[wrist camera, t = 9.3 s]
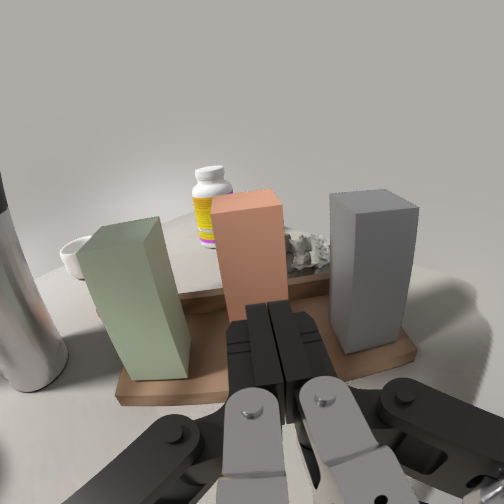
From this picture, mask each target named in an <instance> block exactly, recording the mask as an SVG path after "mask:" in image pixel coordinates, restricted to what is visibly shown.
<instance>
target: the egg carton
mask: <svg viewBox="0 0 504 504" xmlns="http://www.w3.org/2000/svg"><path fill="white" fill-rule="evenodd" d="M284 235H285V250H286V252H291V253H292V254H294V259H293V260H292V263H293V268H292V271H291V272H290V273H287V279H290V278H297V277H303V276H310V275H316V274H322V273H328V272H330V249H329V246H328V243H327V239H326V236H325V235H318V236H316V235H312V234H311V236H309V237H304V236H303V235H300V237H299V240H291V237H290V235H289V234H287V233H284ZM306 250H312V251H313V252H315V261H316V262H318V264H316V265H315V264H311V256H310V253H309V252H306V253H304V252H305V251H306Z"/></svg>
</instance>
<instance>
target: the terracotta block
mask: <svg viewBox="0 0 504 504" xmlns="http://www.w3.org/2000/svg"><path fill="white" fill-rule="evenodd" d="M210 215H211V221H212V227H213V233H214V239H215V245H216V251H217V256H218V262H219V268H220V273H221V279H222V284H223V289H224V295H225V300H226V305H227V311H228V316H229V321H230V323H231V322H232V321H238V320H246V319H247V317H246V309H245V305H249V304H257V303H264V302H266V306H267V302H271V301H278V300H286V299H288V283H287V266H286V250H285V235H284V221H283V209H282V204H281V202H280V201H279V199H278V198H277V196H276V195H275V193H274V192H273V191H272V189H264V190H256V191H248V192H240V193H232V194H225V195H218V196H213V198H212V205H211V213H210Z"/></svg>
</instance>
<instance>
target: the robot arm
mask: <svg viewBox="0 0 504 504" xmlns="http://www.w3.org/2000/svg"><path fill="white" fill-rule="evenodd" d="M245 309H246V317H247V319H246V320H238V321H232V322H231V323H230V325H229V327H228V329H227V331H226V344H227V365H228V384H229V395H228V398H227V400H226V402H225V404H224V405H223V406H222V407H221V408H220V409H219V410H218V411H216V412H214V413H213V414H210V415H208V416H205V417H202V418H199V419H196V420H192V419H190V418H189V417H187V416H184V415H179V414H171V415H166V416H163V417H161V418H159V419H158V420H156V421H155V422H154V423H153V424H152V425H151V426H150V427H149V428H148V429H146V430H145V431H144V432H143V433H142V434H141V435H140V436H139V437H138V438H137V439H136V440H135V441H134V442H132V443H131V444H130V445H129V446H128V447H127V448H126V449H125V450H124V451H123V452H121V453H120V454H119V455H118V456H117V457H116V458H115V459H114V460H113V461H111V462H110V463H109V464H108V465H107V466H106V467H105V468H103V469H102V470H101V471H100V472H99V473H98V474H97V475H95V476H94V477H93V478H92V479H91V480H90V481H88V482H87V483H86V484H85V485H84V486H82V487H81V488H80V489H79V490H78V491H76V492H75V493H74V494H73V495H72V496H70V497H69V498H68V499H67V500H66V501H64V502H63V503H62V504H196V503H197V502H198V501H199V500H200V499H201V498H202V497H203V496H204V494H205V493H206V492H207V491H208V490H209V489H210V488H211V487H212V485H213V484H214V483H215V482H216V481H217V480H218V483H217V493H216V504H289V499H288V488H287V479H286V473H285V465H284V455H283V444H282V425H285V418H286V423H287V424H291V423H294V424H295V428H296V432H297V446H298V449H299V452H300V455H301V458H302V461H303V464H304V467H305V470H306V473H307V476H308V479H309V482H310V485H311V489H312V492H313V499H314V504H428V503H424V502H421V501H418V500H417V498H416V496H415V494H414V492H413V490H412V488H411V486H410V484H409V482H408V480H407V478H406V476H405V474H406V475H408V476H410V477H412V478H414V479H416V480H418V481H421V482H423V483H425V484H427V485H430V486H432V487H434V488H437V489H439V490H441V491H444V492H446V493H449V494H451V495H454V496H456V497H459V498H461V499H463V502H462V504H504V418H502V417H500V416H497V415H494V414H492V413H490V412H487V411H485V410H482V409H480V408H478V407H475V406H473V405H470V404H468V403H466V402H463V401H461V400H458V399H456V398H454V397H452V396H449V395H447V394H445V393H442V392H440V391H438V390H436V389H433V388H431V387H429V386H427V385H424V384H422V383H420V382H418V381H416V380H413V379H410V378H396V379H393V380H391V381H389V382H388V383H387V384H386V385H385V386H384V387H383V389H382V390H366V389H356V388H353V387H350V386H348V385H347V384H346V383H345V382H343V381H342V380H340V379H339V378H338V376H337V374H336V372H335V369H334V367H333V364H332V362H331V359H330V357H329V354H328V352H327V350H326V347H325V345H324V342H323V341H322V337H321V335H320V332H319V330H318V328H317V325H316V323H315V320H314V319H313V318H312V317H311V316H310V315H308V314H307V313H306V312H305V311H303V312H296V313H293V312H292V309H291V306H290V303H289V301H288V299H286V300H278V301H271V302H267V306H266V302H264V303H257V304H249V305H245ZM67 358H68V350H67V347H66V345H65V343H64V342H63V340H62V338H61V336H60V334H59V332H58V330H57V329H56V327H55V325H54V323H53V320H52V318H51V316H50V314H49V312H48V310H47V308H46V306H45V304H44V302H43V300H42V298H41V295H40V293H39V291H38V289H37V286H36V284H35V282H34V279H33V277H32V275H31V272H30V270H29V267H28V265H27V262H26V259H25V257H24V254H23V251H22V249H21V246H20V243H19V240H18V237H17V235H16V231H15V228H14V225H13V221H12V218H11V215H10V211H9V208H8V204H7V200H6V196H5V192H4V188H3V183H2V178H1V173H0V373H1V375H2V376H3V377H4V379H7V380H8V381H9V383H10V384H11V385H12V386H13V387H14V388H15V389H16V390H18V391H22V392H31V391H35V390H38V389H41V388H43V387H45V386H46V385H48V384H49V383H51V382H52V381H53V380H54V379H55V378H56V377H57V376H58V375H59V374H60V373H61V371H62V370H63V368H64V366H65V364H66V362H67Z"/></svg>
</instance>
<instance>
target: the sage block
mask: <svg viewBox="0 0 504 504" xmlns="http://www.w3.org/2000/svg"><path fill="white" fill-rule="evenodd" d="M76 257H77V260H78V263H79V265H80V268H81V271H82V274H83V276H84V279H85V281H86V284H87V287H88V289H89V292H90V294H91V297H92V299H93V301H94V304H95V306H96V308H97V311H98V313H99V315H100V318H101V320H102V322H103V324H104V326H105V329H106V331H107V333H108V335H109V337H110V339H111V341H112V343H113V345H114V347H115V349H116V351H117V353H118V355H119V357H120V359H121V361H122V363H123V365H124V367H125V368H126V370H127V372H128V374H129V376H130V378H131V379H132V380H161V379H179V378H188V368H189V357H190V346H191V336H190V333H189V329H188V326H187V323H186V319H185V316H184V312H183V309H182V305H181V302H180V298H179V295H178V291H177V287H176V284H175V280H174V276H173V272H172V268H171V265H170V261H169V257H168V253H167V248H166V244H165V240H164V236H163V231H162V227H161V223H160V218H159V216H158V217H151V218H146V219H140V220H134V221H129V222H124V223H118V224H113V225H108V226H103V227H101V228H100V229H99V230H98V231H97V232H96V233H95V234H94V235H93V236H92V237H91V238H90V239H89V240H88V241H87V242H86V243H85V244H84V245H83V246H82V247H81V248H80V249H79V250H78V252H77V253H76Z"/></svg>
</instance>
